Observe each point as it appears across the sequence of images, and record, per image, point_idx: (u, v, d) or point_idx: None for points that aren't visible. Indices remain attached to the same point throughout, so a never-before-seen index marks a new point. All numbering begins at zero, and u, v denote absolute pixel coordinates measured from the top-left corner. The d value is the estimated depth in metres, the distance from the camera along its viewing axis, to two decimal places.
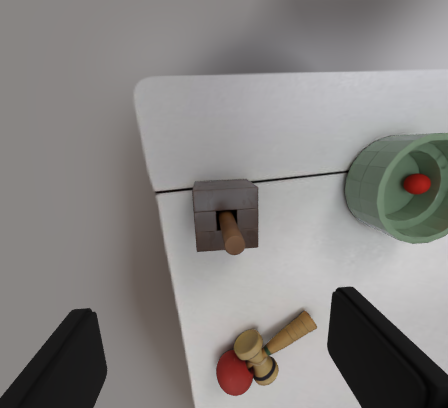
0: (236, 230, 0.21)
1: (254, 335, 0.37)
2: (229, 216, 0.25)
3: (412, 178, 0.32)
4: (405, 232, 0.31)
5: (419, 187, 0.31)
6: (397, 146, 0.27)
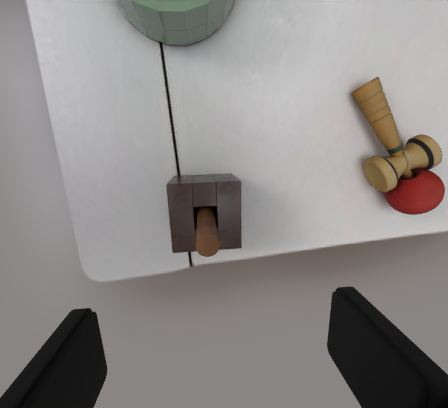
0: (196, 234, 0.18)
1: (370, 164, 0.30)
2: (197, 220, 0.22)
3: None
4: None
5: None
6: None
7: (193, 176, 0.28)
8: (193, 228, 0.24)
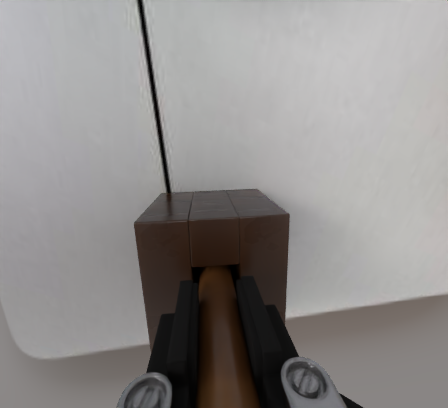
0: (196, 403, 0.06)
1: None
2: None
3: None
4: None
5: None
6: None
7: (193, 195, 0.16)
8: None
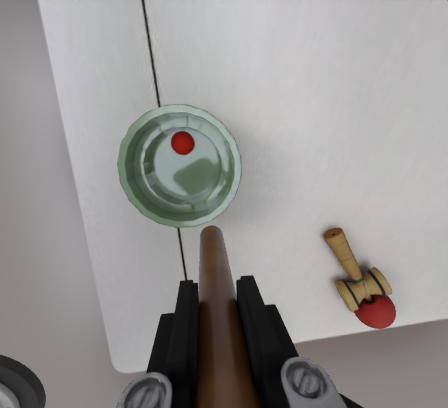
0: (196, 399, 0.06)
1: None
2: None
3: None
4: (232, 170, 0.28)
5: (184, 149, 0.28)
6: None
7: None
8: None
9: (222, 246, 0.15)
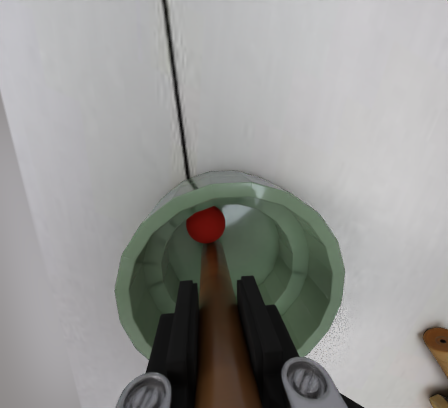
0: None
1: None
2: None
3: (186, 227, 0.17)
4: (316, 278, 0.16)
5: (201, 235, 0.16)
6: None
7: None
8: None
9: (220, 255, 0.15)
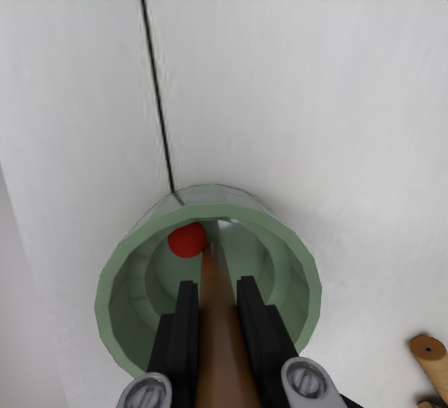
0: (194, 400, 0.06)
1: None
2: None
3: None
4: (296, 292, 0.16)
5: (180, 252, 0.16)
6: None
7: None
8: None
9: (219, 256, 0.15)
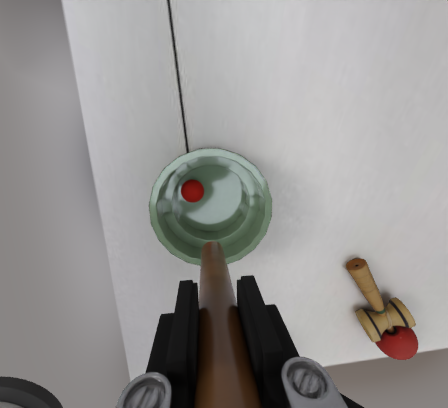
0: (194, 400, 0.06)
1: None
2: None
3: (181, 188, 0.29)
4: (260, 208, 0.28)
5: (185, 199, 0.29)
6: None
7: None
8: None
9: (219, 256, 0.15)
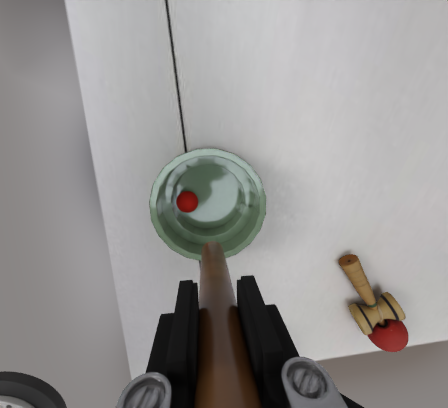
0: (194, 400, 0.06)
1: None
2: None
3: None
4: (255, 205, 0.29)
5: None
6: None
7: None
8: None
9: (219, 256, 0.15)
